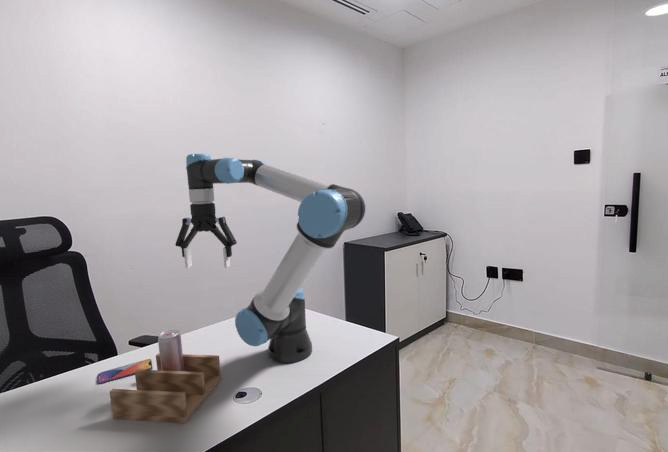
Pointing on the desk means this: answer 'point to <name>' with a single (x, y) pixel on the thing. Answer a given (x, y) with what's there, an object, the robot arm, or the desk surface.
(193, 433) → the desk surface
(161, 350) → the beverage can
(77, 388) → the desk surface
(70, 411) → the desk surface
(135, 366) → the smartphone
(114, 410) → the rack
